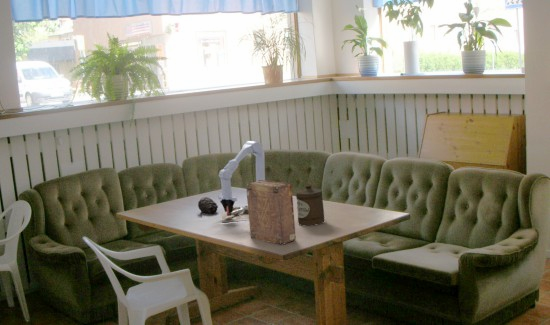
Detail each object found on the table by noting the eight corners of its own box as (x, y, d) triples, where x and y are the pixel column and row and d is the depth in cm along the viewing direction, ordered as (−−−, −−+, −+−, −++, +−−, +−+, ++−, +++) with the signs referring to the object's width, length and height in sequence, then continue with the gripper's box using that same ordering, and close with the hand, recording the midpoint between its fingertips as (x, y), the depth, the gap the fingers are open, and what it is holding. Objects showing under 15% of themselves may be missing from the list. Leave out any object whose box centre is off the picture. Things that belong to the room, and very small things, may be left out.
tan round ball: (238, 212, 444) (237, 206, 443) (238, 213, 440) (237, 207, 439) (231, 213, 443) (230, 206, 443) (231, 214, 439) (231, 208, 439)
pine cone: (209, 217, 442) (207, 201, 440) (195, 213, 457) (194, 197, 455) (224, 214, 448) (222, 198, 446) (210, 210, 462) (208, 194, 461)
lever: (246, 209, 445) (245, 199, 444) (251, 209, 442) (250, 200, 441) (225, 215, 432) (224, 205, 432) (230, 216, 429) (229, 206, 429)
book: (250, 238, 384) (245, 182, 380) (263, 234, 390) (258, 179, 386) (282, 245, 365) (278, 186, 361) (296, 240, 371) (291, 183, 367)
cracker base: (254, 210, 449) (253, 204, 449) (256, 219, 426) (255, 212, 425) (221, 213, 448) (221, 207, 447) (222, 222, 424) (221, 215, 424)
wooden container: (293, 222, 411) (290, 184, 408) (317, 218, 417) (314, 180, 413) (305, 227, 397) (302, 188, 394) (329, 222, 403) (326, 184, 400)
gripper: (213, 189, 432) (215, 212, 434) (229, 191, 422) (231, 214, 424) (222, 187, 437) (224, 209, 439) (238, 189, 427) (240, 211, 429)
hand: (228, 211), depth 432 cm, fingers open, 3 cm apart
